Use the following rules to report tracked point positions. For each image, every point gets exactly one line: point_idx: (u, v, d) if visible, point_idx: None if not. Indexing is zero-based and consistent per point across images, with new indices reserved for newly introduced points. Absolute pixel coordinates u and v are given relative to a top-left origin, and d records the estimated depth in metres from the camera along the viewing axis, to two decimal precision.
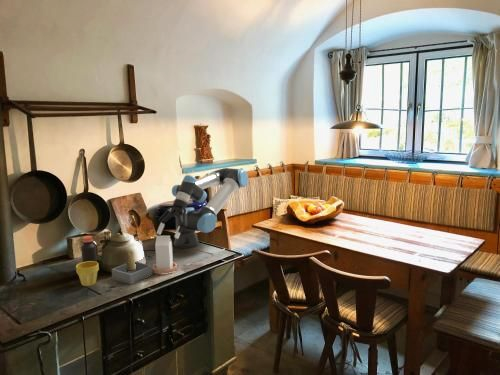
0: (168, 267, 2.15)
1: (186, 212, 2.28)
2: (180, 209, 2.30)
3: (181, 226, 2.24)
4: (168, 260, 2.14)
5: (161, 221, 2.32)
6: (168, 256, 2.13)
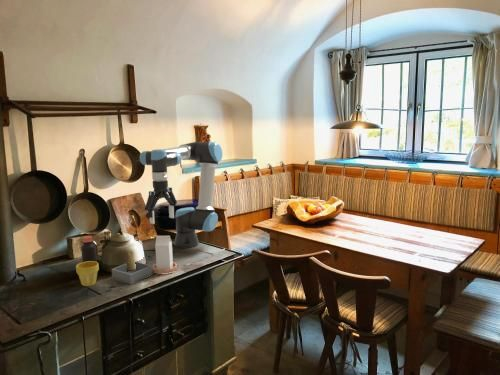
0: (168, 267, 2.15)
1: None
2: (166, 189, 2.13)
3: None
4: (168, 260, 2.14)
5: (152, 210, 2.06)
6: (168, 256, 2.13)
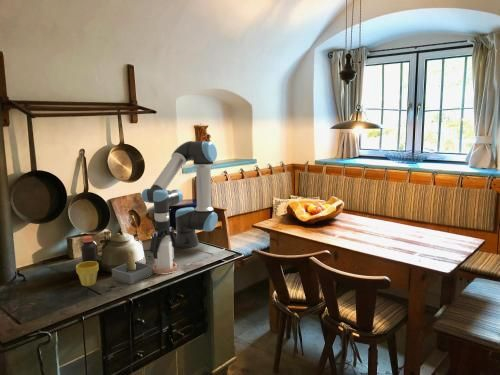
0: (168, 267, 2.14)
1: None
2: (168, 228, 2.16)
3: None
4: (168, 260, 2.14)
5: (157, 251, 2.11)
6: (168, 256, 2.13)
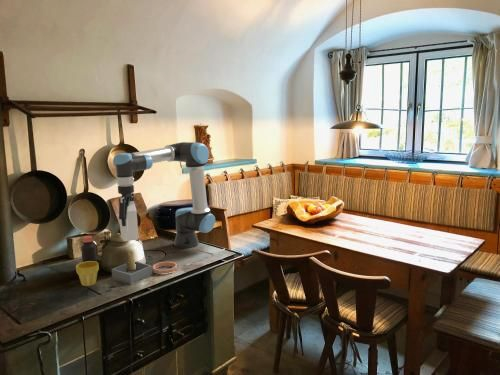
0: (136, 234, 2.05)
1: None
2: (130, 194, 2.06)
3: None
4: (136, 226, 2.04)
5: None
6: (136, 222, 2.04)
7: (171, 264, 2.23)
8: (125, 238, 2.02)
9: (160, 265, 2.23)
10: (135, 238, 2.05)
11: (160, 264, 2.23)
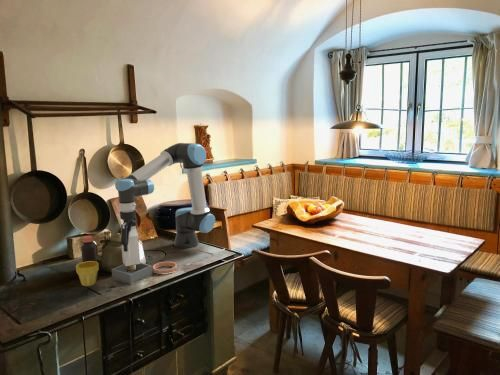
0: (138, 258, 2.07)
1: None
2: (132, 219, 2.08)
3: None
4: (137, 251, 2.07)
5: None
6: (137, 247, 2.06)
7: (171, 264, 2.23)
8: (127, 263, 2.05)
9: (160, 265, 2.23)
10: (137, 263, 2.07)
11: (160, 264, 2.23)
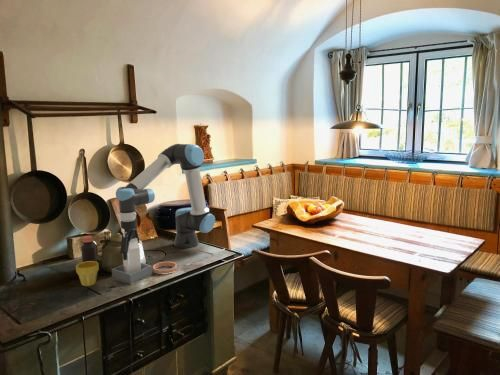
0: None
1: None
2: (133, 228, 2.09)
3: None
4: (139, 263, 2.08)
5: (127, 251, 2.01)
6: (139, 259, 2.08)
7: (171, 264, 2.23)
8: None
9: (160, 265, 2.23)
10: None
11: (160, 264, 2.23)
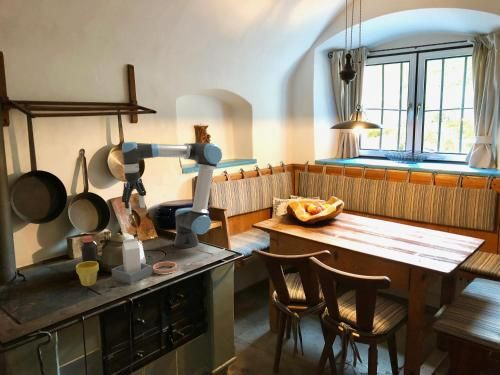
0: None
1: None
2: (137, 180, 2.20)
3: None
4: (139, 263, 2.08)
5: None
6: (139, 259, 2.08)
7: (171, 264, 2.23)
8: None
9: (160, 265, 2.23)
10: None
11: (160, 264, 2.23)
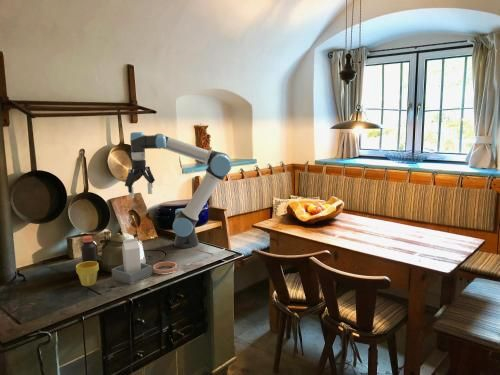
0: None
1: None
2: (144, 168, 2.38)
3: (151, 182, 2.44)
4: (139, 263, 2.08)
5: (131, 185, 2.32)
6: (139, 259, 2.08)
7: (171, 264, 2.23)
8: None
9: (160, 265, 2.23)
10: None
11: (160, 264, 2.23)
